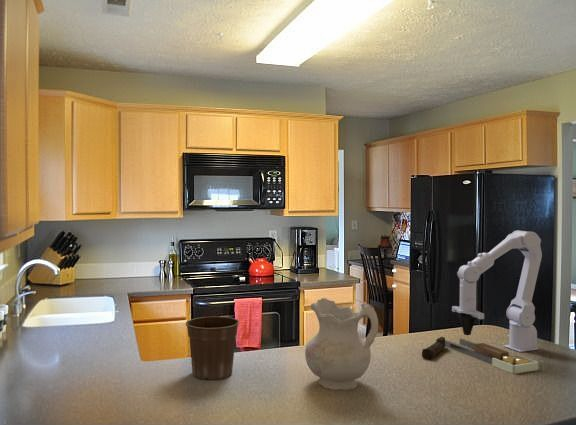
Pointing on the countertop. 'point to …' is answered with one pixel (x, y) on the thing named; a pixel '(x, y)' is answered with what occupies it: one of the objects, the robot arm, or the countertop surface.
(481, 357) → the slot rails
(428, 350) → the brown wooden log
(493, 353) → the long wooden beam
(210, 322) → the plant pot
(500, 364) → the tray
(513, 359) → the chip
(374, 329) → the ceramic pitcher
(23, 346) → the countertop surface
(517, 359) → the chip
